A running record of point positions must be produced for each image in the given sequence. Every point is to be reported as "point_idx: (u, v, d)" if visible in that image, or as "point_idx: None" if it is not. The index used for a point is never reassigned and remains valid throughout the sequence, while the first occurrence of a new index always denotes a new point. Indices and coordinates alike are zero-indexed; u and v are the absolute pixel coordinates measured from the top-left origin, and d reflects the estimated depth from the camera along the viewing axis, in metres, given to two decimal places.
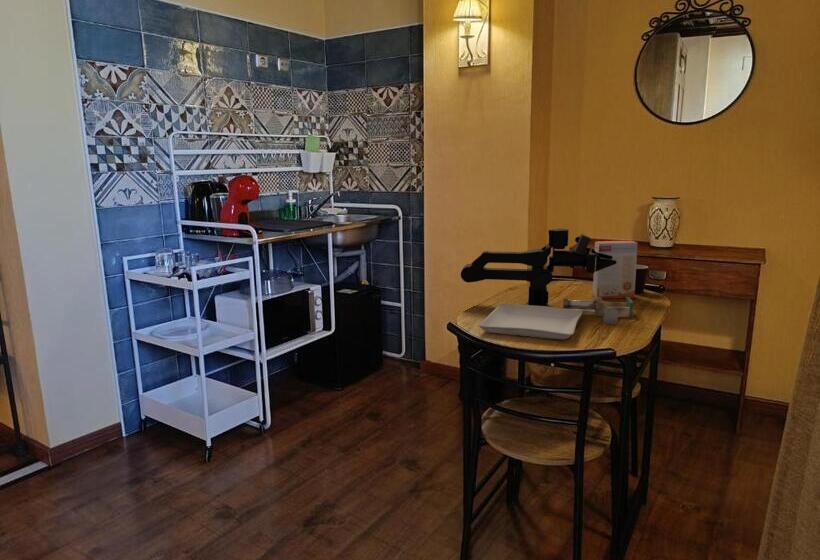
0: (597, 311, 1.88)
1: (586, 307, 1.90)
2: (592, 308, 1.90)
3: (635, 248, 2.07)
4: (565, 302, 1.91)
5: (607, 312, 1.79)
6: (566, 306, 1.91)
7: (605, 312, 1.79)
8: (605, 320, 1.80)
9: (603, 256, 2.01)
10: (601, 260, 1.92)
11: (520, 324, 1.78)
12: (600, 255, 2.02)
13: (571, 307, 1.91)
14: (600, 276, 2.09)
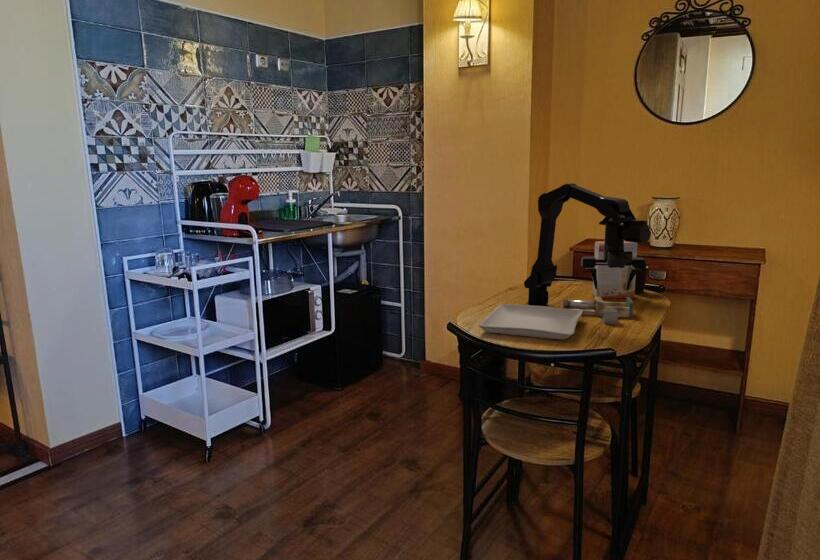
0: (597, 311, 1.88)
1: (586, 307, 1.90)
2: (592, 308, 1.90)
3: (635, 248, 2.07)
4: (565, 302, 1.91)
5: (607, 312, 1.79)
6: (566, 306, 1.91)
7: (605, 312, 1.79)
8: (605, 320, 1.80)
9: (627, 280, 1.78)
10: None
11: (520, 324, 1.78)
12: (628, 277, 1.77)
13: (571, 307, 1.91)
14: (600, 276, 2.09)
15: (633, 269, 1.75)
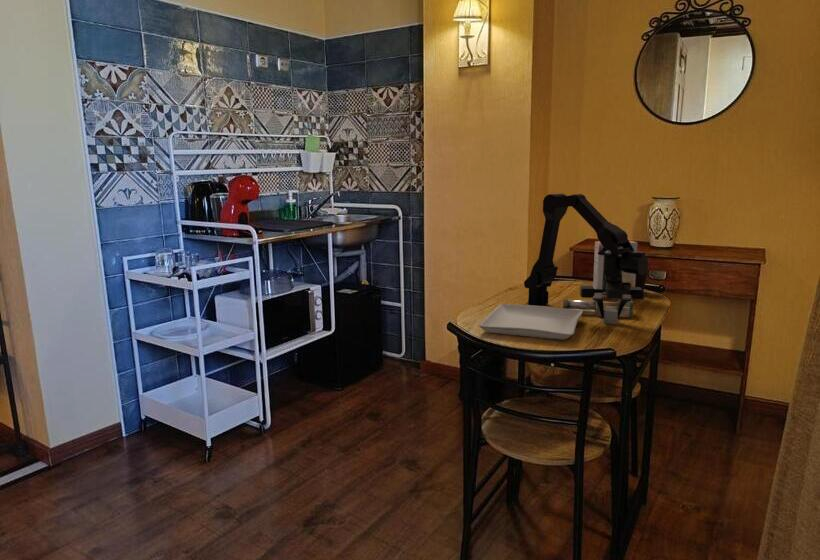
0: (597, 311, 1.88)
1: (586, 307, 1.90)
2: (592, 308, 1.90)
3: (635, 248, 2.07)
4: (565, 302, 1.91)
5: (607, 312, 1.79)
6: (566, 306, 1.91)
7: (605, 312, 1.79)
8: (605, 320, 1.80)
9: (617, 310, 1.80)
10: None
11: (520, 324, 1.78)
12: (618, 307, 1.79)
13: (571, 307, 1.91)
14: (600, 276, 2.09)
15: (623, 299, 1.77)
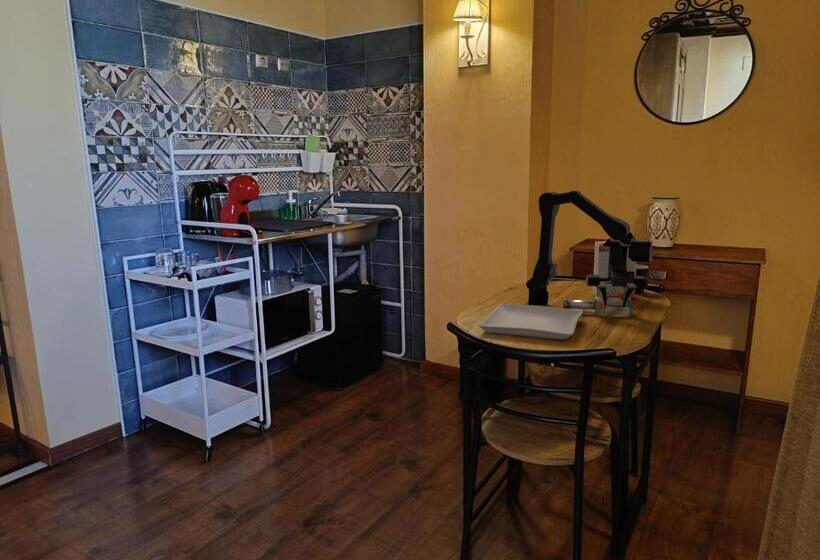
0: (597, 311, 1.88)
1: (586, 307, 1.90)
2: (592, 308, 1.90)
3: None
4: (565, 302, 1.91)
5: (612, 301, 1.88)
6: (566, 306, 1.91)
7: (610, 301, 1.88)
8: None
9: (624, 298, 1.89)
10: None
11: (520, 324, 1.78)
12: (625, 295, 1.88)
13: (571, 307, 1.91)
14: (600, 276, 2.09)
15: (629, 287, 1.86)
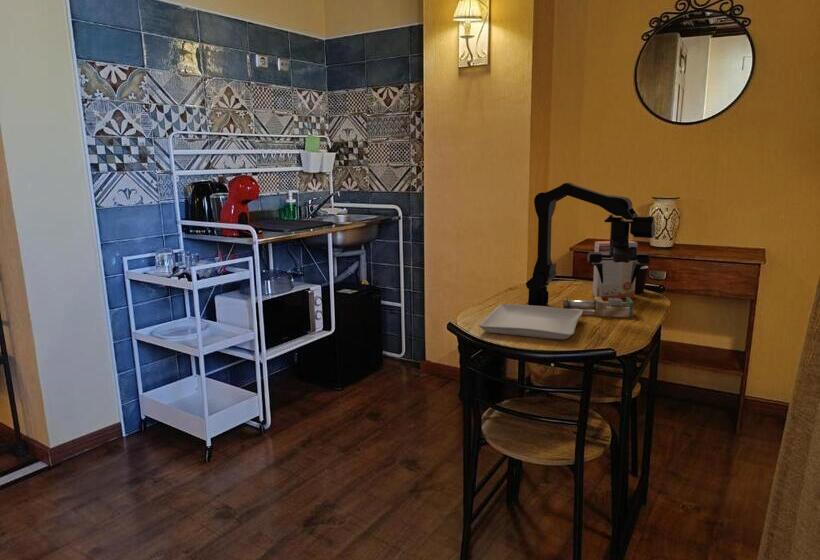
0: (597, 311, 1.88)
1: (586, 307, 1.90)
2: (592, 308, 1.90)
3: None
4: (565, 302, 1.91)
5: (612, 301, 1.88)
6: (566, 306, 1.91)
7: (610, 301, 1.88)
8: None
9: (632, 275, 1.86)
10: None
11: (521, 324, 1.78)
12: (633, 272, 1.86)
13: (571, 307, 1.91)
14: None
15: (637, 264, 1.84)
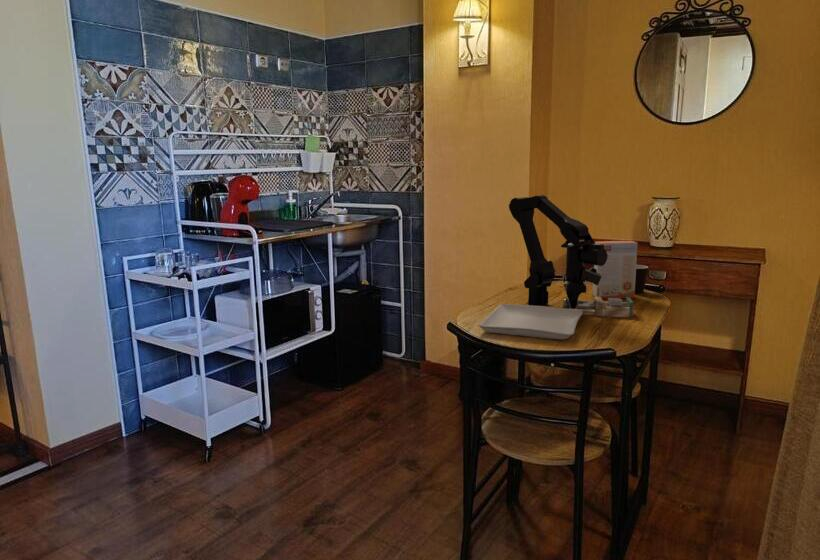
0: (597, 311, 1.88)
1: (586, 307, 1.90)
2: (592, 308, 1.90)
3: (635, 248, 2.07)
4: (565, 302, 1.91)
5: (612, 301, 1.88)
6: (566, 306, 1.91)
7: (610, 301, 1.88)
8: None
9: None
10: (576, 295, 1.89)
11: (521, 324, 1.78)
12: None
13: None
14: None
15: None
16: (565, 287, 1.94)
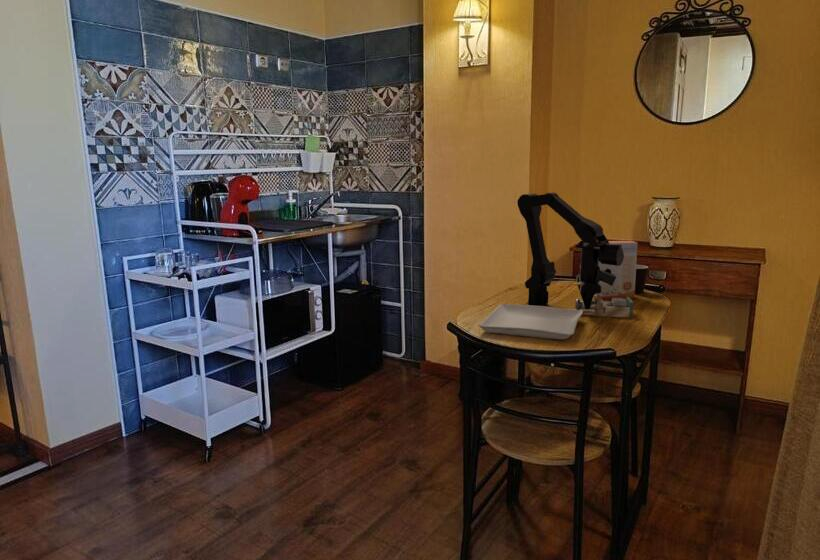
0: (597, 311, 1.88)
1: None
2: (604, 309, 1.90)
3: (635, 248, 2.07)
4: (577, 302, 1.91)
5: (616, 301, 1.88)
6: (578, 306, 1.90)
7: (614, 301, 1.88)
8: None
9: None
10: (590, 295, 1.88)
11: (521, 324, 1.78)
12: None
13: (583, 307, 1.91)
14: None
15: None
16: (579, 287, 1.93)
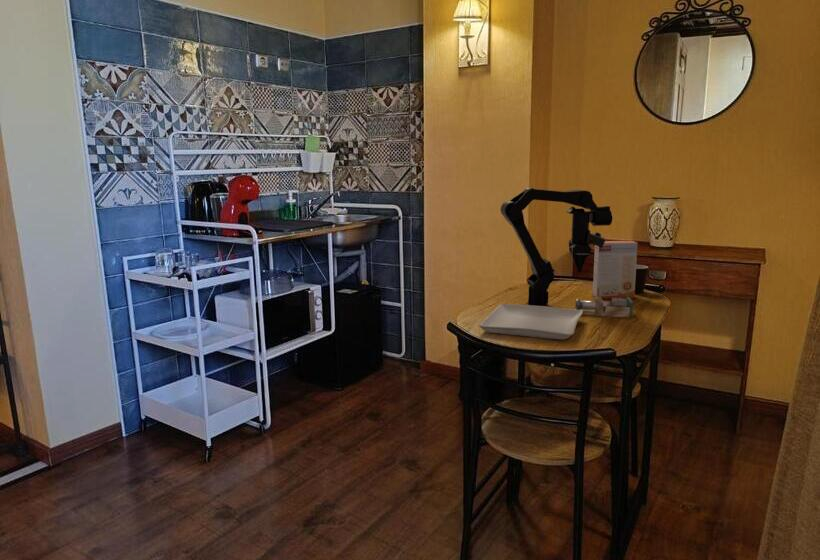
0: (597, 311, 1.88)
1: None
2: (604, 309, 1.90)
3: (635, 248, 2.07)
4: (577, 302, 1.91)
5: (616, 301, 1.88)
6: (578, 306, 1.90)
7: (614, 301, 1.88)
8: None
9: None
10: (582, 259, 1.97)
11: (521, 324, 1.78)
12: None
13: (583, 307, 1.91)
14: (600, 276, 2.09)
15: None
16: (570, 249, 2.08)
